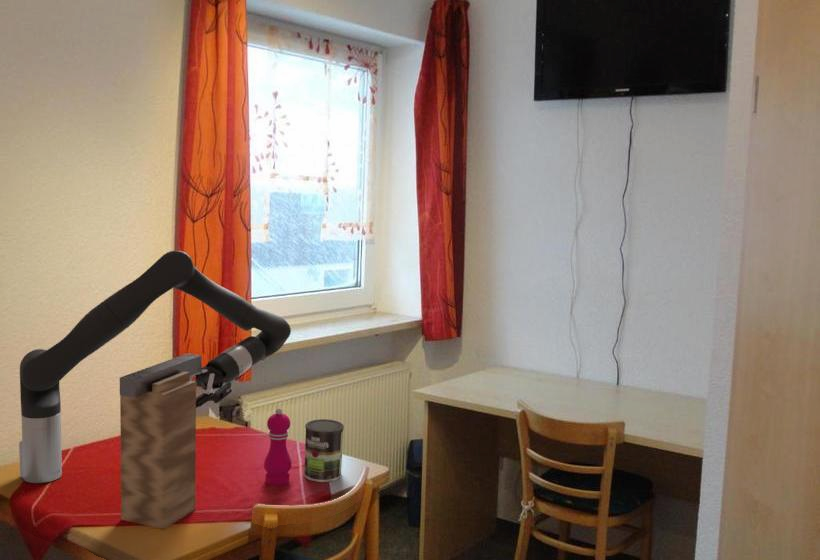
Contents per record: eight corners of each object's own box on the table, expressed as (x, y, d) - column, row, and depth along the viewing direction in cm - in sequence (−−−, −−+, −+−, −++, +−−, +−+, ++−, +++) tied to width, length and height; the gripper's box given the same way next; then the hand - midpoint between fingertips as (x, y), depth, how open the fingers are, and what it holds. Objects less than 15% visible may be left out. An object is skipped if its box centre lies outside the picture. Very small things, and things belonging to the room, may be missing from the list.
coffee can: (331, 485, 217) (332, 434, 215) (296, 477, 221) (298, 427, 219) (348, 472, 227) (350, 422, 224) (315, 465, 230) (316, 416, 228)
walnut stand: (121, 519, 192) (120, 378, 187) (153, 499, 203) (153, 366, 198) (164, 529, 188) (164, 385, 183) (195, 509, 199) (196, 373, 194)
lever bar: (119, 395, 181) (119, 377, 180) (187, 369, 204) (187, 353, 204) (134, 397, 180) (134, 380, 179) (201, 371, 203) (201, 355, 202)
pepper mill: (285, 487, 214) (287, 413, 211) (259, 484, 216) (260, 410, 212) (294, 477, 221) (296, 405, 218) (269, 473, 223) (271, 402, 219)
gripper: (209, 342, 214) (160, 373, 202) (249, 364, 207) (200, 397, 196) (211, 365, 218) (163, 396, 206) (251, 387, 211) (203, 421, 200)
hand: (181, 397), depth 201 cm, fingers open, 8 cm apart
